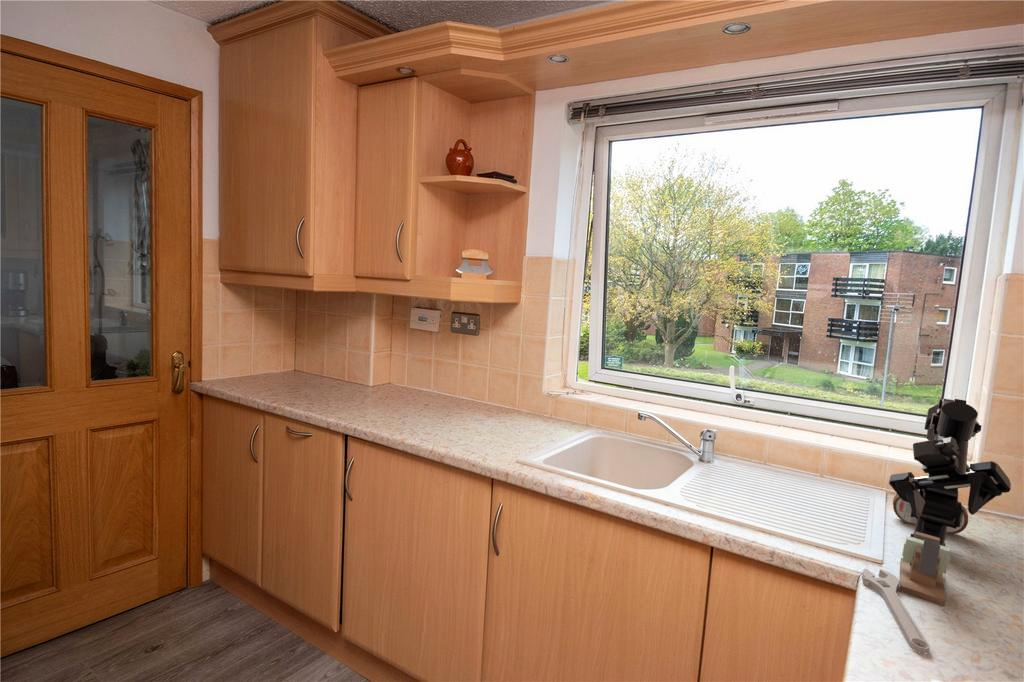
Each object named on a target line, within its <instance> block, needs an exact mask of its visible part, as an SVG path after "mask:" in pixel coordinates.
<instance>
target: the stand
mask: <svg viewBox="0 0 1024 682" xmlns="http://www.w3.org/2000/svg"><path fill="white" fill-rule="evenodd" d="M915 538H916V539H920V540H923V541H924V538H926V539H930V540H934V541H937V542H940V538H938V537H934V536H931V535H927V534H923V533H920V532H916V533H915ZM920 557H921V547H918V546H916V547H915V552H914V556H913V559H912V563H908V562H905V561H903V557H901V558H900V562H899V587H898V592H899V593H903V594H906V595H908V596H911V597H915V598H918V599H921V600H924V601H926V602H929V603H933V604H936V605H940V606H942V607H945V606H946V605H945V604H946V601H947V600H946V593H945V583H944V573H941V572H938V570H939V569H938V566H939V561H940V553H939V555H938V560H937V565H936V570H935V575H934V576H931V575H928V574H925V573H921V572H918V567H919V562H920Z"/></svg>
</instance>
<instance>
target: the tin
mask: <svg viewBox="0 0 1024 682" xmlns="http://www.w3.org/2000/svg"><path fill="white" fill-rule="evenodd" d="M961 505H962V508H963V509H964V513H963V516H962V519H961V523H960V527H956V529H954V528H952V527H948V528H947V533H946V535H956V534H960V533H961V532H964V531H965V529H966V528H967V526H968V524H969V514H968V513H969V512H968V510H967V509H966V508H965V506H963V504H961ZM892 507H893V512H894V513H895V515H896V516H897V517H898V519H900V521H902V522H904V523H906V524H909V525H912V526H915V525H916V520H917V519H916V518H915V517H910V516H911V506H910V503H908V502H905V501H903V500H902V499H901V498H900V497H899V495H898V494H897V493H896V494H895V495H894V497H893V500H892Z"/></svg>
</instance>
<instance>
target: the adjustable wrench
mask: <svg viewBox="0 0 1024 682" xmlns="http://www.w3.org/2000/svg"><path fill="white" fill-rule="evenodd" d="M861 580H862V585H864V586H867V587H868V588H870V589H872V590H874V591H875V592H876V593H877V594H879V595H880V596H881V598H882V599H883V601H884V603H885V605H886V606H887V608H888V610H889V612H890V614H891V615H892V617H893V619H894V621H895V622H896V625H897V626H898V629H899V631H901V633H902V636H903V637H904V639H905V641H906V643H907V645H908V644H909V645H908V646H909V648H910V647H911V648H912V649H911V648H910V649H911V650H913V649H914V650H916V651H917V652H916V651H915V652H916V653H918V652H920V653H919V654H921V653H928V652H929V653H930V648H931V646H930V644H929V642H928V640H927V639H926V638H925V636H924V635H923V633H922V631H921V630H920V628H919V627H918V625H917V623H916V622H915V620H914V619H913V617H912V616H911V614H910V612H909V611H908V609H907V607H906V606H905V605H904V603H903V601H902V600H901V599H900V597H899V596H898V593H897V591H899V580H900V578H898V577H897V576H896V575H895V574H893V573H891V572H889V571H887V570H885V569H879V572H878V577H876V575H875V574H874V573H873V572H872V571H870V570H869V569H868V568H864V569H863V570H862V575H861ZM914 650H913V651H914ZM929 653H928V654H929Z"/></svg>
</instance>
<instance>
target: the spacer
mask: <svg viewBox="0 0 1024 682" xmlns="http://www.w3.org/2000/svg"><path fill="white" fill-rule="evenodd" d="M923 542H924V541H923V540H920V539H916V538H913V537H910V536H909V535H906V538H905V539H904V542H903V547H902V554H901V555H902V558H903V561H905V562H908V563H912V559H913V556H914V552H915V547H916V546H918V547H921V548H922V547H923ZM939 553H940V561H939V566H938V569H939V570H938V572H941V573H943V574H947V570H949V566H950V561H951V548H950V547H947V546H946V545H945V546H941V545H940V550H939Z"/></svg>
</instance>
